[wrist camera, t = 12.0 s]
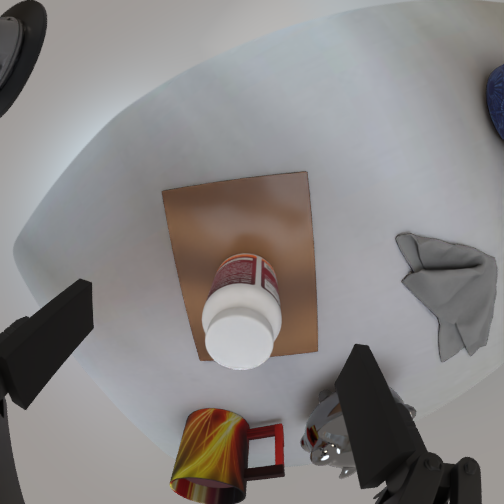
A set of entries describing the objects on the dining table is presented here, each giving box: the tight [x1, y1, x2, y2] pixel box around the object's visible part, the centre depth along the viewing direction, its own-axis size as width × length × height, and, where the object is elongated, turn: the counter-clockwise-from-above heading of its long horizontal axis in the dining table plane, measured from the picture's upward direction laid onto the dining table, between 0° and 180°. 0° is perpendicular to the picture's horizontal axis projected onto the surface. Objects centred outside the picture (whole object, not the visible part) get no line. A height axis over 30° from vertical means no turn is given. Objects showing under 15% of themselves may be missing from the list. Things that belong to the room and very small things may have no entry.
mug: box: [170, 408, 285, 504], centre depth 31 cm, size 10×14×12 cm
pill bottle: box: [202, 253, 282, 370], centre depth 24 cm, size 6×6×11 cm
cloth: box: [396, 234, 497, 362], centre depth 29 cm, size 26×14×2 cm, turn 38°
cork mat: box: [162, 171, 318, 361], centre depth 30 cm, size 20×14×1 cm
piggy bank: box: [300, 386, 416, 479], centre depth 29 cm, size 11×15×12 cm
